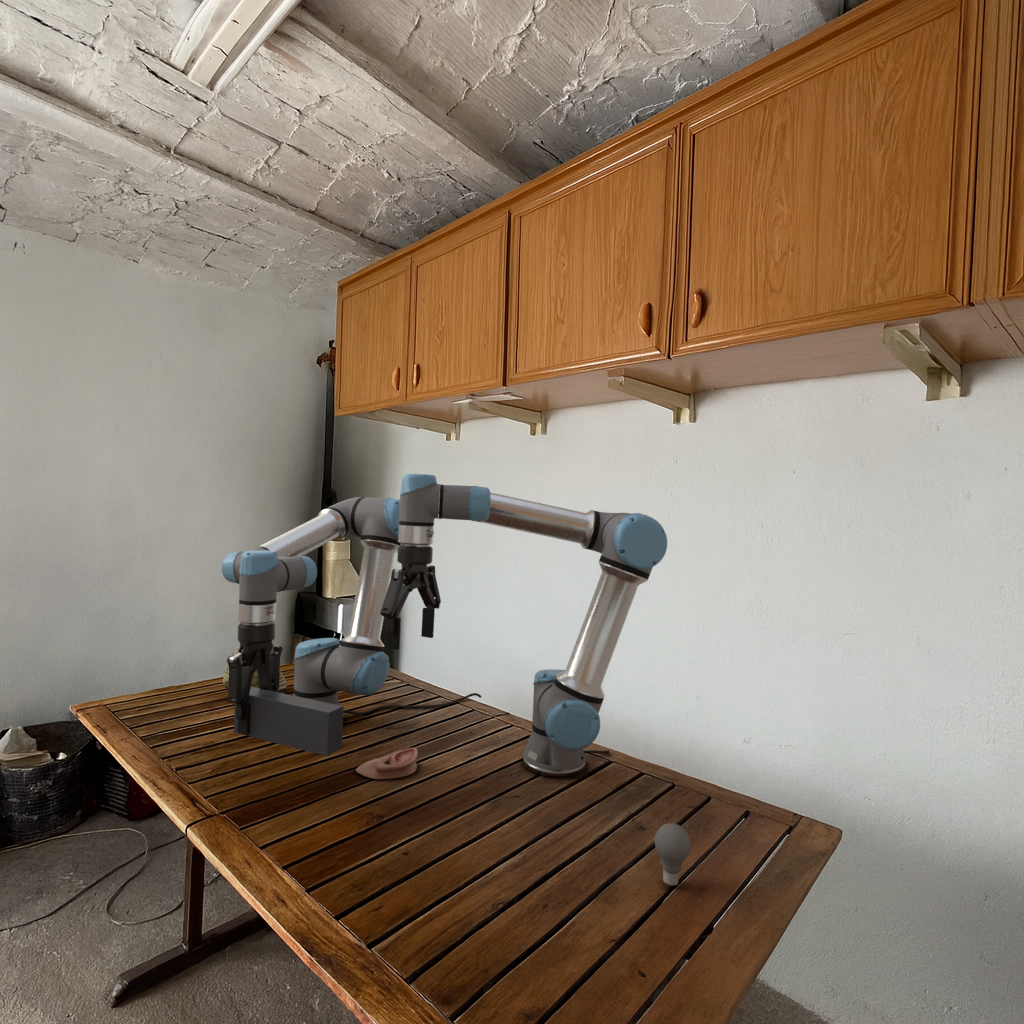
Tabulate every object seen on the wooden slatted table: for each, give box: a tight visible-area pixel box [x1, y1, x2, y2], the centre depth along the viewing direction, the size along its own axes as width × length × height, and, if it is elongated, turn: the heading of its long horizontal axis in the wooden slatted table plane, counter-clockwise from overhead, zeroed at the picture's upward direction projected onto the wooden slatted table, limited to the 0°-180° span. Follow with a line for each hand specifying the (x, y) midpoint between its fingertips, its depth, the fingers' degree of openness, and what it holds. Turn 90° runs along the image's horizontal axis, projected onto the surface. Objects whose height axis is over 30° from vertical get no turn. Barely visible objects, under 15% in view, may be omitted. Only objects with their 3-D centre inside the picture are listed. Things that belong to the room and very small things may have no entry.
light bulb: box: [654, 822, 692, 886], centre depth 108 cm, size 6×6×10 cm
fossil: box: [222, 646, 288, 694], centre depth 198 cm, size 9×18×15 cm, turn 132°
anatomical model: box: [355, 747, 419, 780], centre depth 148 cm, size 13×4×12 cm
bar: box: [233, 687, 344, 757], centre depth 133 cm, size 25×5×9 cm, turn 66°
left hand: (253, 729), depth 137 cm, fingers closed on bar, 5 cm apart
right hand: (410, 642), depth 138 cm, fingers open, 13 cm apart
